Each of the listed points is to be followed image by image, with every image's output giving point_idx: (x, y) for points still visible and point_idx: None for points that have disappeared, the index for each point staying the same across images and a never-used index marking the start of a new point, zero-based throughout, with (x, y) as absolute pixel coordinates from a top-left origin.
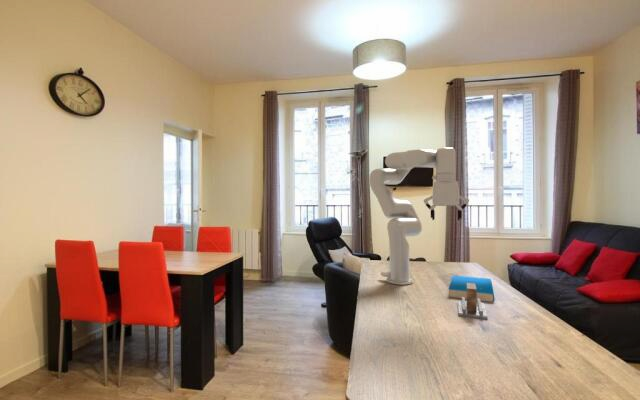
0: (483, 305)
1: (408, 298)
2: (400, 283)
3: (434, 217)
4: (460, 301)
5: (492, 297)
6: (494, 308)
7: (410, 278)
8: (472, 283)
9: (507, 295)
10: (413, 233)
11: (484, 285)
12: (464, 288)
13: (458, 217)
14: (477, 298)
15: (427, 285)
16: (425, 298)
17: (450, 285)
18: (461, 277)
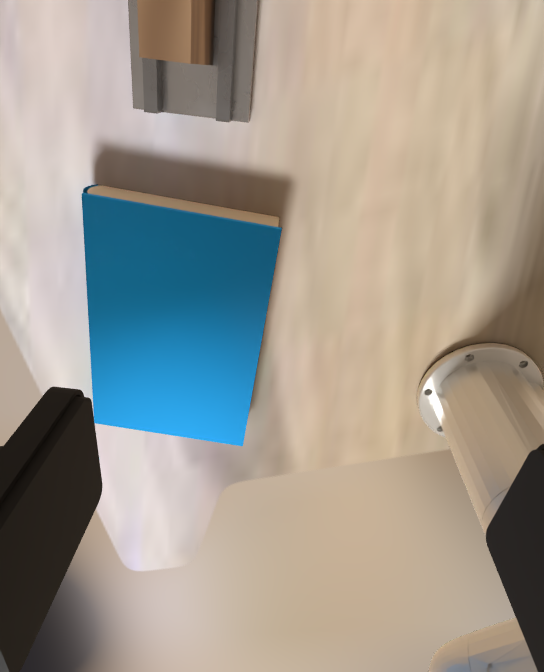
0: (135, 60)
1: (489, 127)
2: (485, 345)
3: (506, 551)
4: (239, 100)
5: (92, 190)
6: (92, 74)
7: (424, 419)
8: (155, 56)
9: (44, 294)
10: (494, 634)
11: (118, 317)
12: (207, 244)
13: (47, 422)
14: (156, 112)
15: (357, 363)
16: (399, 152)
17: (268, 282)
18: (209, 421)
